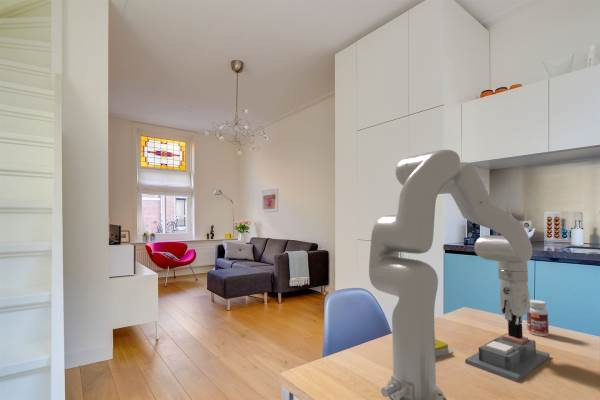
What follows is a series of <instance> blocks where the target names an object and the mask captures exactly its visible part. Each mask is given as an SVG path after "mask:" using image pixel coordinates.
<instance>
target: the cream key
mask: <svg viewBox="0 0 600 400" xmlns="http://www.w3.org/2000/svg"><path fill="white" fill-rule="evenodd" d="M488 343H489V342H488ZM486 344H487V343H486ZM486 349H489V350H492V351H495V352H498V353H502V354H505V355H508V354H509V353H511V352H512V351H513V347H512V346H509V345H506V344H502V343H499V342H495V341H493V342H491V343H489V344H487V345H486Z"/></svg>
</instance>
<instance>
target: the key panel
mask: <svg viewBox="0 0 600 400" xmlns="http://www.w3.org/2000/svg"><path fill="white" fill-rule="evenodd" d="M507 333H508V332H505V333H504V334H502V335H500V336H499V337H496V338H495V339H492V340H490V341H488V342H487V343H484V344H483V345H481V346H480V347H478V352H476V353H475V354H472V355H471V356H469V357H467V358H465V359H464V362H465V364H466V365H467V364H468V365H470V366H473V367H476V368H478V369H481V370H483V371H487V372H490V373H492V374H495V375H497V376H500V377H502V378H506V379H508V380H511V381H512V382H513V381H514V382H517V383H518V382H519V381H521V380H523V378H524V377H526V376H527V375H528V374H530V373H531V372H532V371H534V370H535V369H536V368H537V367H538V366H540V365H541V364H542V363H543V362H545V361H546V360H548V359H550V353H549V352H546V351H543V350H539V349H536V340H534V339H530V338H528V342H527V343H525V344H524V345H520V344H516V343H513V342H509V341H506V340H503V336H504V335H506V334H507ZM493 341H495V342H499V343H502V344H506V345H509V346H512V347H513V351H512V352H511V353H509V354H508V355H505V354H502V353H498V352H495V351H492V350H489V349H486V345H487V344H489V343H491V342H493Z"/></svg>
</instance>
